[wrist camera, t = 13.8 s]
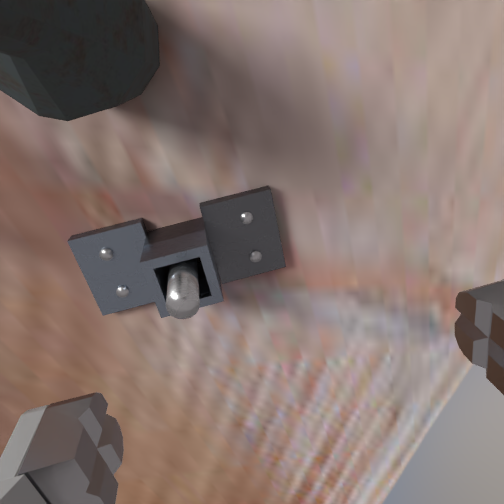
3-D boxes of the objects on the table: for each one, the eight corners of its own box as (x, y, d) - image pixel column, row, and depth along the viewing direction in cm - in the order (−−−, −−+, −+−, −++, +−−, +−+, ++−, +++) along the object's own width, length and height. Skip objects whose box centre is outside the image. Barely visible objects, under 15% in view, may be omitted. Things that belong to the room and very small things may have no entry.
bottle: (162, 105, 38) (108, 182, 11) (57, 101, 36) (-300, 180, 10) (156, -19, 34) (45, -378, 7) (36, -30, 32) (-718, -554, 5)
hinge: (267, 185, 43) (284, 207, 36) (282, 261, 48) (300, 294, 41) (71, 236, 42) (47, 269, 35) (105, 308, 46) (90, 351, 39)
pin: (192, 235, 44) (194, 286, 34) (199, 257, 46) (203, 314, 35) (167, 241, 44) (161, 295, 33) (175, 263, 45) (171, 322, 35)
